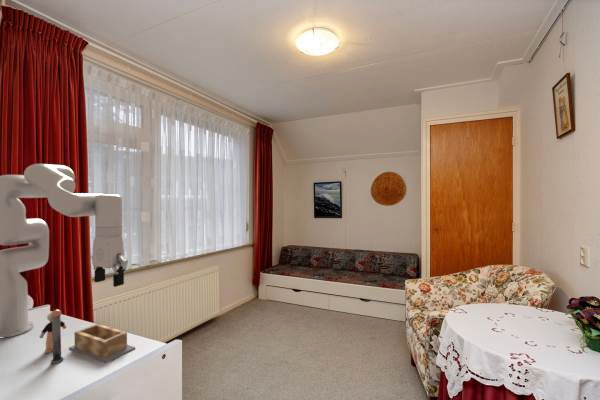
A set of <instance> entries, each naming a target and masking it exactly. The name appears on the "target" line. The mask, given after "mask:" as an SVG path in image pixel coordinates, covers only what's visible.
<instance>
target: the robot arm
mask: <svg viewBox="0 0 600 400" xmlns="http://www.w3.org/2000/svg"><path fill="white" fill-rule="evenodd" d="M75 179H76V176H75V173H74V170H72V169H71V168H70V167H68V166H66V165H62V164H51V163H49V164H48V163H33V164H30V165H29V166H28V167H26V168H25V170H24V171H23V174H2V175H0V246H14V245H21V244H28V245H26V246H25V245H24V246H17V247H10V248H5V249H0V337H8V338H13V337H15V336H18V335H19V336H20V335H21V334H24V333H27V332H28V331H31V330H32V329H33V328H34V325H35V324H34V322H32V321H29V306H28V305H29V299H28V298H29V297H28V281H27V280H26V278H25V277H24V276H22V275H21V274H20V273H22V272H23V273H24V272H26V271H31V270H36V269H41V268H42V267H45V265H46V264H47V263H48V261H49V255H50V253H49V252H50V251H49V250H50V229H49V226H48V223H47V222H46V221H45V220H43V219H42V218H37V217H36V218H35V217H34V218H32V217H30V218H27V216H26V213H27V209H26V206H25V204H24V203H23V202H22V201H21V199H23V198H24V199H32V198H33V199H36V198H38V199H39V198H41V199H42V198H47V201H48V204H49V206H50V207H51V208H52V209H53V210H55V211H56V212H58V213H60V214H61V215H64V216H67V217H70V218H71V217H72V218H78V217H92V216H94V223H95V225H94V226H95V227H94V230H95V231H94V234H95V235H94V238H93V244H92V253H91V256H90V258H91V263H92V265H93V270H94V282H95V283H100V282H104V281H105V280H106V269H112V271H113V272H114V274H113V275H112V281H113V282H112V283H113V284H112V285H113V287H114V288H115V287H120V286H123V285H124V284H125V273H126V270H127V267H128V263H129V260H128V259H127V258H125V248H124V239H123V198H122V196H121V195H119V194H113V193H112V194H111V193H109V194H107V193H106V194H104V193H98V192H97V193H93V192H92V193H90V192H89V193H88V192H87V193H86V192H85V193H83V192H81V193H80V192H79V193H78V192H77V193H76V192H75V190H76V182H75V181H76V180H75ZM74 192H75V193H74Z"/></svg>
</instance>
